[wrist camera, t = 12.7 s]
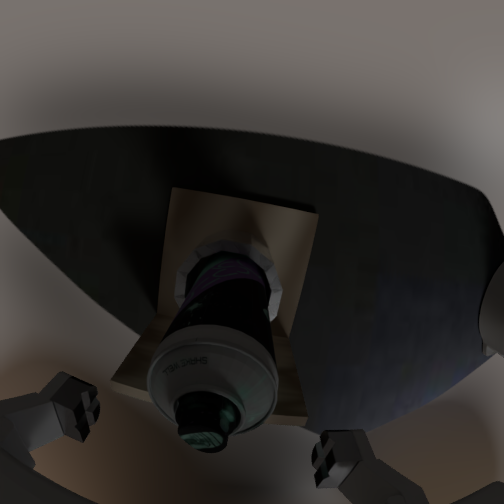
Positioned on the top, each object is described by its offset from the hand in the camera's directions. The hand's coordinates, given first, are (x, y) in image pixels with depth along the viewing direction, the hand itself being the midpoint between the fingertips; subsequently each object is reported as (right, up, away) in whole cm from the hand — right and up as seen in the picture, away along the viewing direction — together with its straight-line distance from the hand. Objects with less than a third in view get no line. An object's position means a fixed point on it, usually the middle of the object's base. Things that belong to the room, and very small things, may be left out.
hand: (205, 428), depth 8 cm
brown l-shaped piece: (0, +4, +20) cm, 20 cm away
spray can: (0, +4, +19) cm, 20 cm away
